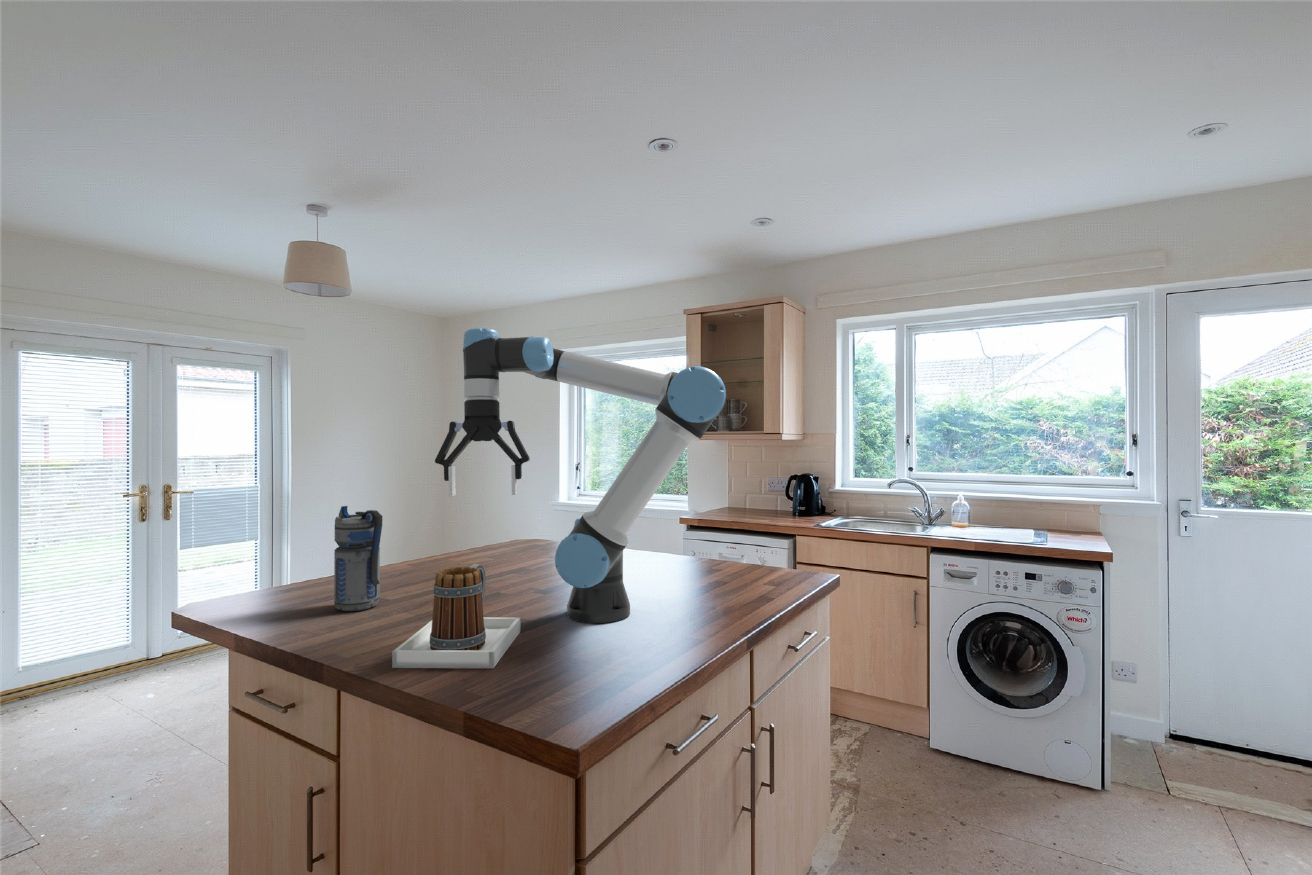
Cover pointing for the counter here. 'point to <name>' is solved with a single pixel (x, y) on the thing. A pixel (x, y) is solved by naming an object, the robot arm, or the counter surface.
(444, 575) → the mug
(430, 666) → the white tray
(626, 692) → the counter surface
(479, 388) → the robot arm
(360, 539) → the grey blue grenade canister
